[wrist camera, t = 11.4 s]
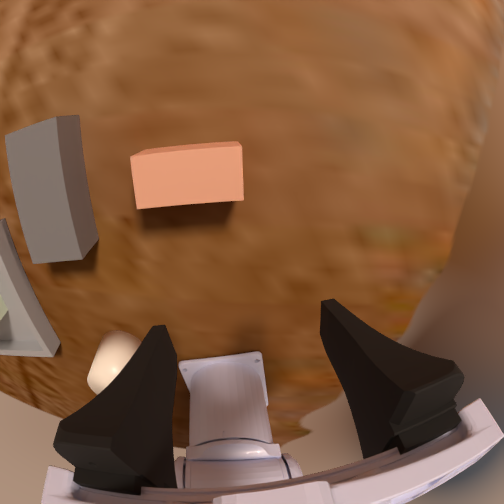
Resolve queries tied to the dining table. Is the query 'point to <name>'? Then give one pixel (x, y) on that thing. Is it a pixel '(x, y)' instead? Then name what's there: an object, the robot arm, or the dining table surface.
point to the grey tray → (21, 308)
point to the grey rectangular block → (52, 189)
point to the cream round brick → (111, 358)
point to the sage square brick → (2, 308)
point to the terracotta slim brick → (188, 174)
